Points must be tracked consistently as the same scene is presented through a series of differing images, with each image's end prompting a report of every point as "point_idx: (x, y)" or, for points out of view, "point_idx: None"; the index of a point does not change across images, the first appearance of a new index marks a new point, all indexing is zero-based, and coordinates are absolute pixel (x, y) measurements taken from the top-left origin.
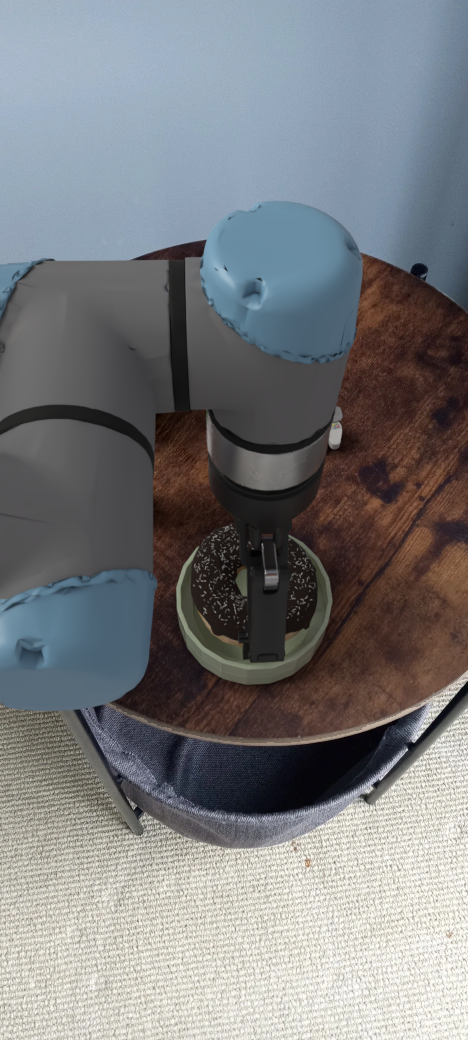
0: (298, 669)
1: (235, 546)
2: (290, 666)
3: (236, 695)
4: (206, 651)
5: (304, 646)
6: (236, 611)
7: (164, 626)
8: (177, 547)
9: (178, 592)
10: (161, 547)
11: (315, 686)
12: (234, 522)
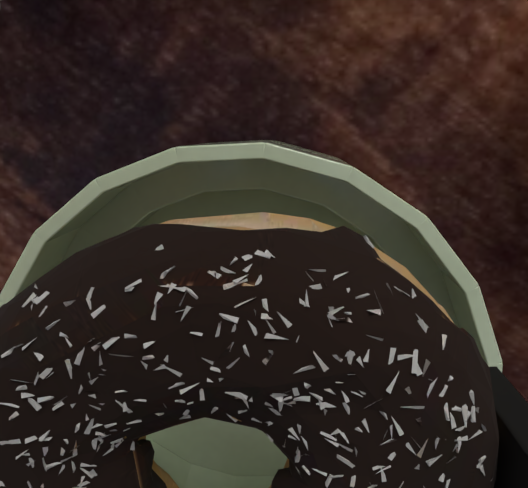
0: None
1: (352, 454)
2: None
3: None
4: (28, 250)
5: None
6: (11, 446)
7: (219, 97)
8: (475, 128)
9: (242, 150)
10: (481, 77)
11: None
12: (503, 422)
